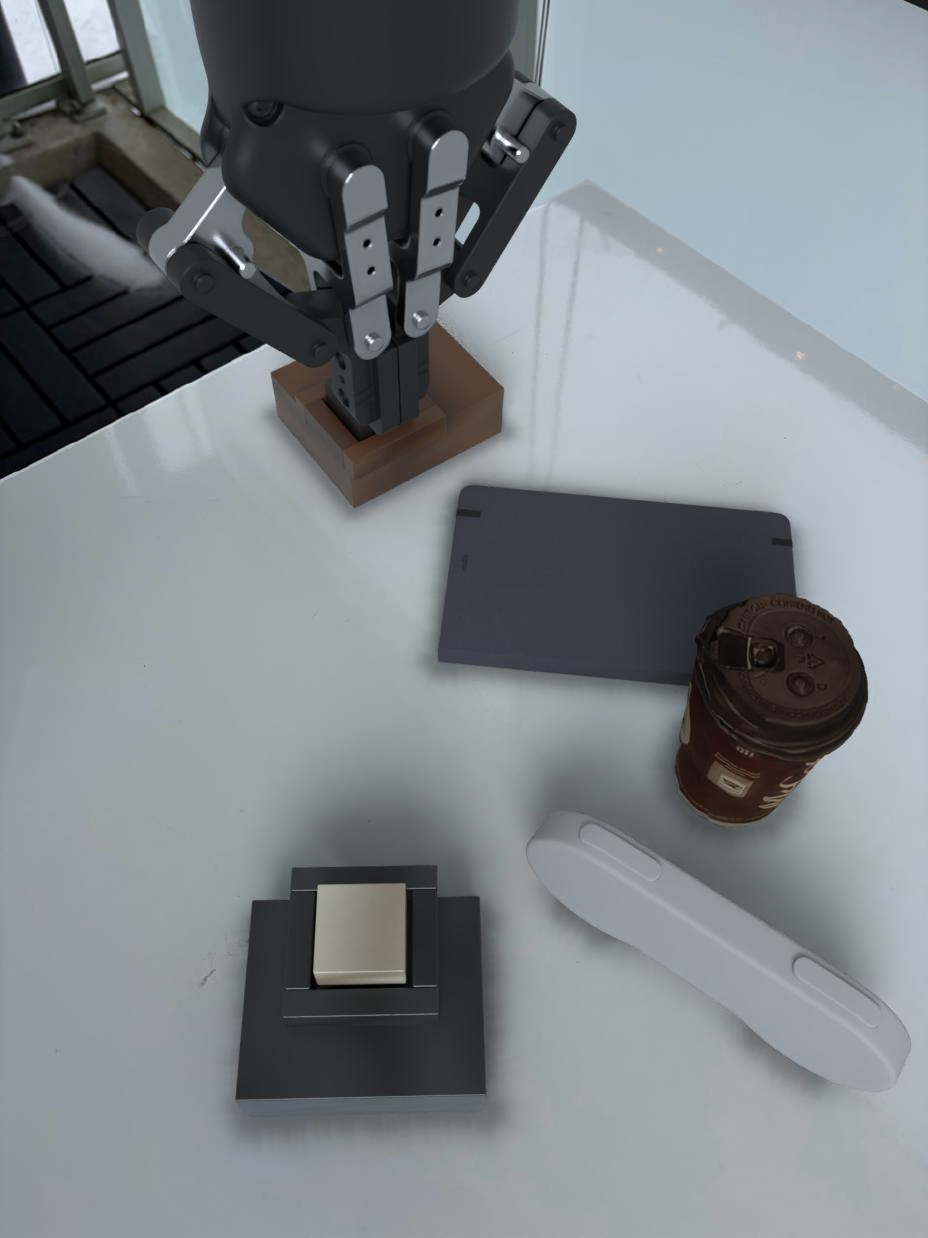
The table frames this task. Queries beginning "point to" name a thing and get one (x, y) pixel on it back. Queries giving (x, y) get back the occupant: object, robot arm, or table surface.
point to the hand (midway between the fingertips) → (382, 411)
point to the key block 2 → (363, 1009)
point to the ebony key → (346, 414)
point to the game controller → (721, 951)
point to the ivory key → (360, 934)
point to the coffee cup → (765, 705)
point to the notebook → (600, 580)
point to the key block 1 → (446, 426)
